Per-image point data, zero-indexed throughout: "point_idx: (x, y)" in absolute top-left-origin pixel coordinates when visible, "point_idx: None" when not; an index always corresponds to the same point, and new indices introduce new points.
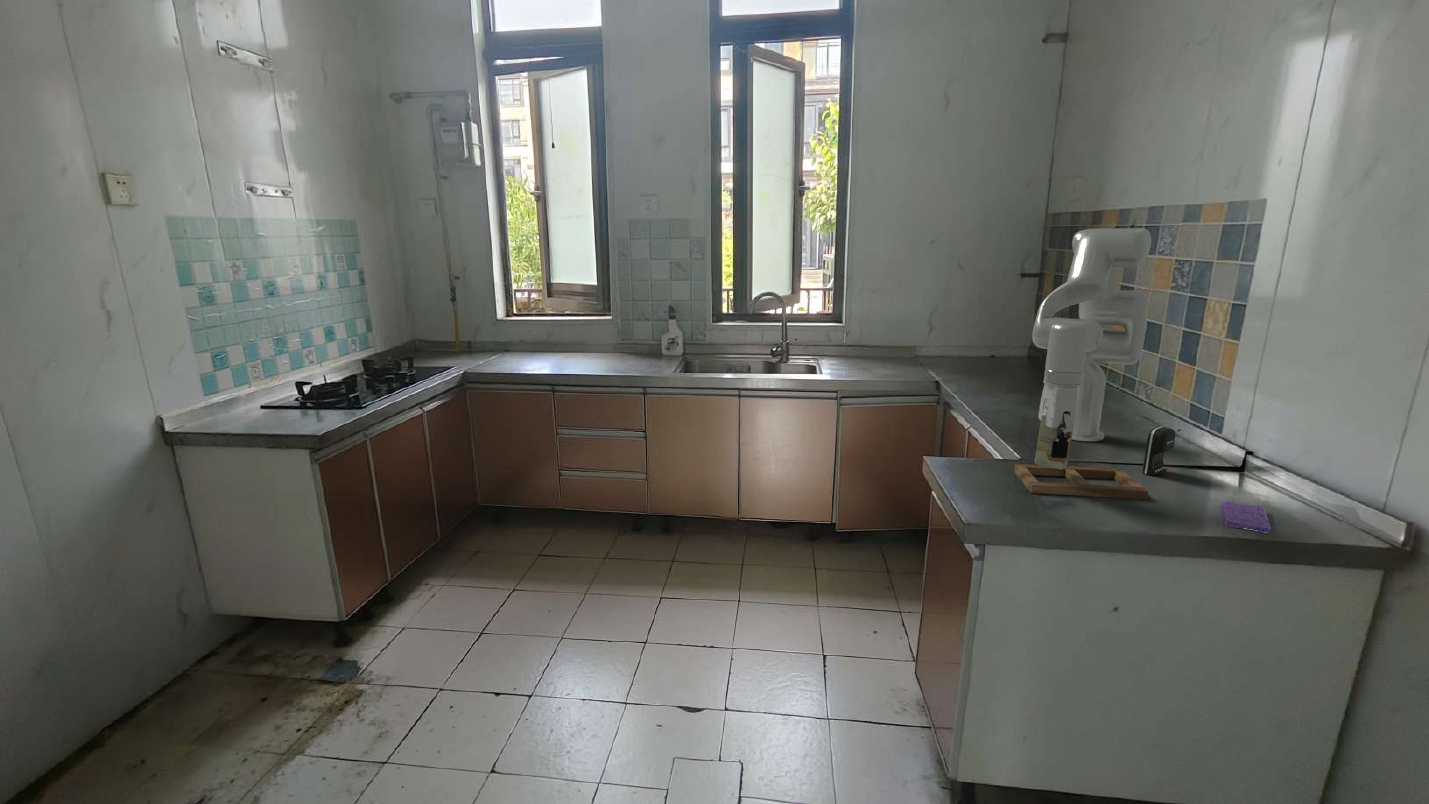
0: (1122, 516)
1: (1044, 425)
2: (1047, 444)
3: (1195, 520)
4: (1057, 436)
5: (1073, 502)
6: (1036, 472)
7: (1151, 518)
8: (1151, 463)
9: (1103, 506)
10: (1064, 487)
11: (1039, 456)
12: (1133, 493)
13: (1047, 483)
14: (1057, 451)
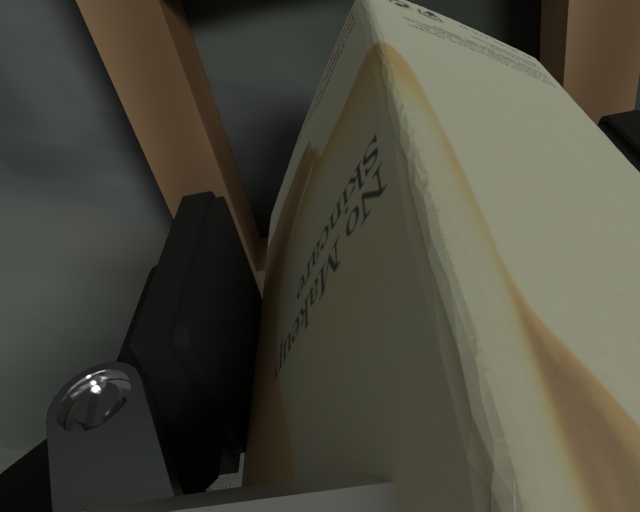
0: (14, 353)
1: (383, 437)
2: (317, 219)
3: None
4: (57, 461)
5: (63, 189)
6: (549, 5)
7: None
8: None
9: (99, 308)
10: (159, 176)
11: (343, 59)
12: None
13: (157, 68)
14: (145, 289)
